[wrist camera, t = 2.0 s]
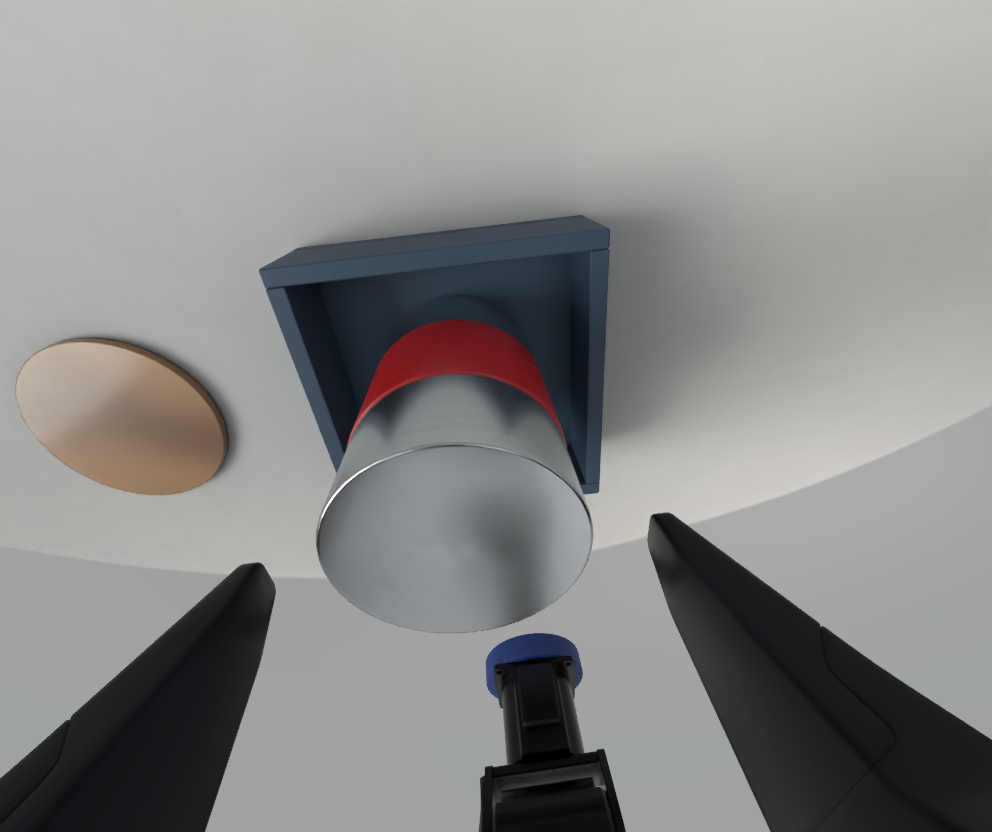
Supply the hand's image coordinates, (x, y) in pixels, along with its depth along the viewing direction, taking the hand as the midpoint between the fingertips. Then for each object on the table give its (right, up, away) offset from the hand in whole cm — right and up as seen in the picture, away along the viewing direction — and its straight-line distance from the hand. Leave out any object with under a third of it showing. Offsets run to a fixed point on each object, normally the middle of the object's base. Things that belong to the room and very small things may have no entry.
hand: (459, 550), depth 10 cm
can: (-1, +5, +8) cm, 10 cm away
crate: (-1, +5, +9) cm, 10 cm away
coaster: (-16, +3, +9) cm, 18 cm away
